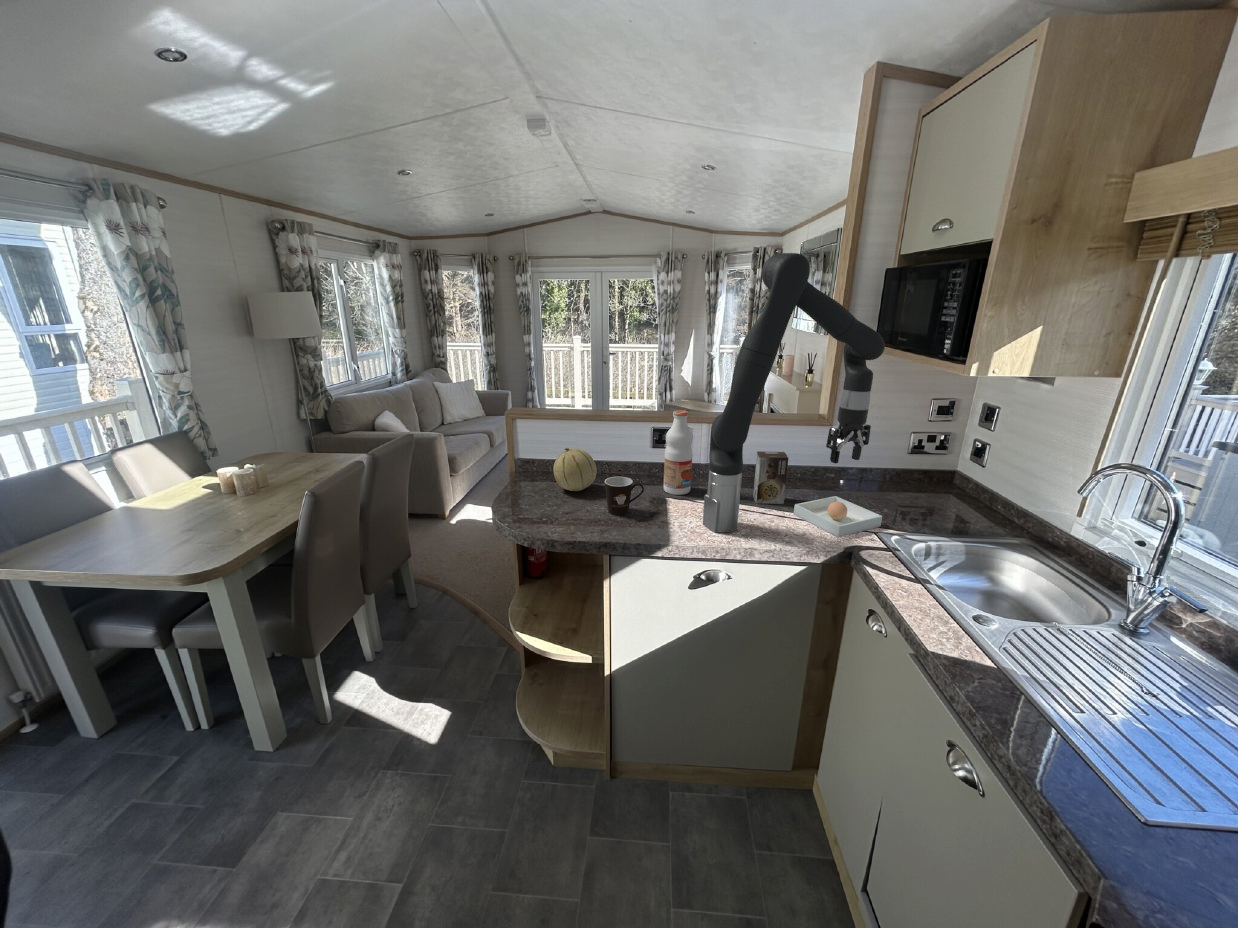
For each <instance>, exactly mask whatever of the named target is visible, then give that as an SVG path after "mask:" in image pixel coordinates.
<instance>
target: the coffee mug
mask: <svg viewBox="0 0 1238 928" xmlns="http://www.w3.org/2000/svg"><path fill="white" fill-rule="evenodd" d="M604 486H605V487H604V488H605V497H606V504H607V513H609V514H610V515H612V516H625V515H627V514H628V513H629V510H630V504H631V503H632V502H633V501H635V500H636V499H638V498H639V497H641V495H643V493H644V491H645V489H644V485H643V484H641V483H635V484H633V479H632V478H630V477H626V476H612V477H608V478H606V479H605V480H604ZM637 486H638V487H641V491H640V493H639V494H638V495H635V496H634V497H632V499H631V496H632V491H633V489H634V488H635V487H637Z"/></svg>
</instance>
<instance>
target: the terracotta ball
mask: <svg viewBox="0 0 1238 928" xmlns="http://www.w3.org/2000/svg"><path fill="white" fill-rule="evenodd" d="M828 514H829V516H830V517H831V518H832V519H835V520H841V519H843V518H845V517H846V515H847V507H846V505H845V504H843V503H842V502H833V503H831V504H830V505H829V506H828Z"/></svg>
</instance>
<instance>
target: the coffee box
mask: <svg viewBox="0 0 1238 928" xmlns="http://www.w3.org/2000/svg"><path fill="white" fill-rule="evenodd" d="M788 465H789V456H788V454H787V453H786V452H785V451H759V450H757V451H756V461H755V472H754V483H753V485H754V486H753V494H752V496H753V500H754V503H756V504H764V505H766V504H767V505H770V504H772V505H774V504H775V505H784V504H785V496H786V488H787V487H786V486H787V478H788V477H787V476H788V467H789V466H788Z"/></svg>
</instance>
